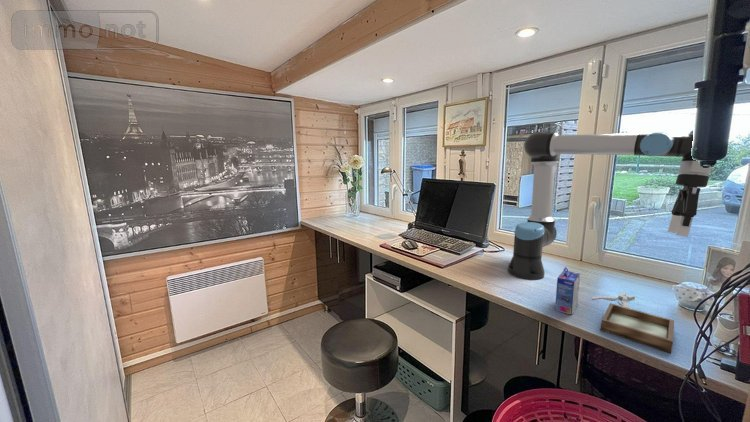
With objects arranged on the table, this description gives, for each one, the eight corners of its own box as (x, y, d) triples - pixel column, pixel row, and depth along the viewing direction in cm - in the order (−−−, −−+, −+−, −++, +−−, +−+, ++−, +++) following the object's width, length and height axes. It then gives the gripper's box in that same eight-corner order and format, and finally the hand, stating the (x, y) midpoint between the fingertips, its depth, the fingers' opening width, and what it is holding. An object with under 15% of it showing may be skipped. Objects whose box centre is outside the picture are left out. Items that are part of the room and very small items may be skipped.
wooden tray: (600, 330, 90) (601, 319, 90) (608, 312, 101) (610, 303, 100) (670, 353, 79) (673, 341, 79) (672, 330, 90) (674, 320, 89)
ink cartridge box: (560, 300, 110) (564, 263, 107) (577, 305, 106) (582, 267, 103) (553, 310, 103) (557, 270, 100) (572, 315, 99) (576, 275, 96)
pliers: (591, 295, 111) (615, 289, 116) (590, 299, 111) (614, 293, 117) (621, 307, 102) (645, 299, 107) (620, 311, 102) (645, 303, 108)
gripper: (722, 172, 89) (703, 240, 92) (698, 178, 109) (682, 233, 112) (687, 170, 93) (670, 234, 96) (670, 176, 113) (656, 229, 116)
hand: (676, 234), depth 104 cm, fingers open, 13 cm apart
